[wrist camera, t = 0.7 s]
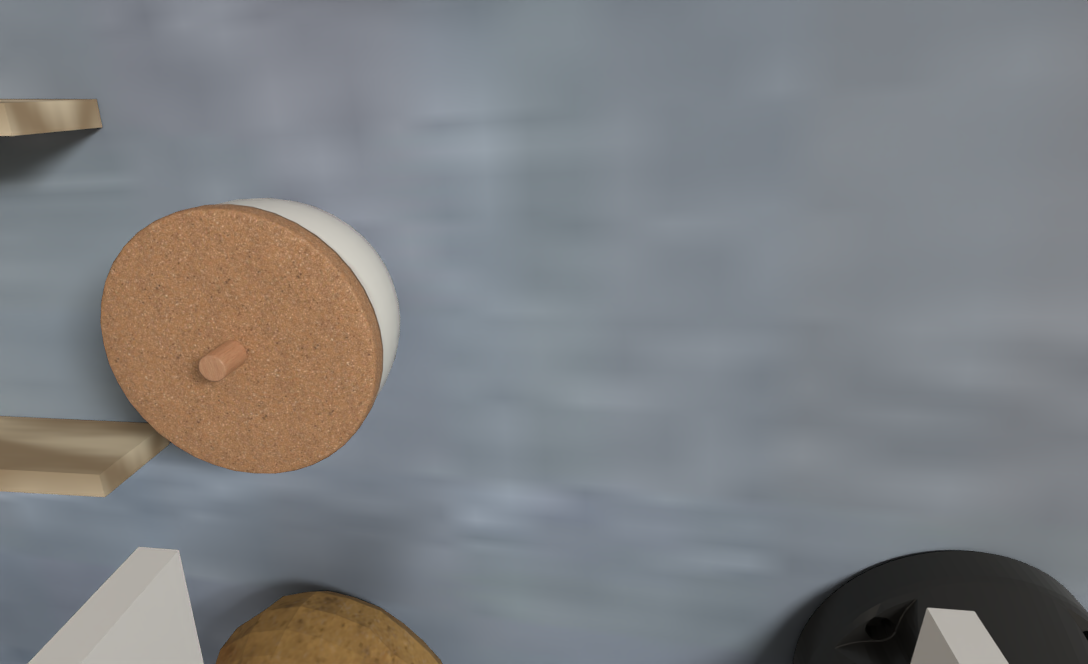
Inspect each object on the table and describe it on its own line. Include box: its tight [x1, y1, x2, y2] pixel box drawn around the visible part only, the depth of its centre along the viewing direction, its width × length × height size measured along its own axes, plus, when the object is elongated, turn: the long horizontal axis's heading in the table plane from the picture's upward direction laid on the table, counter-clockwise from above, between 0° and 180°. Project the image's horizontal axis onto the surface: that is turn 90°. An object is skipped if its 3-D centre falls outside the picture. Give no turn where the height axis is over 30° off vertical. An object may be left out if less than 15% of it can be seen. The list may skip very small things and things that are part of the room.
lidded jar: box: [101, 198, 400, 473], centre depth 29 cm, size 11×11×9 cm
